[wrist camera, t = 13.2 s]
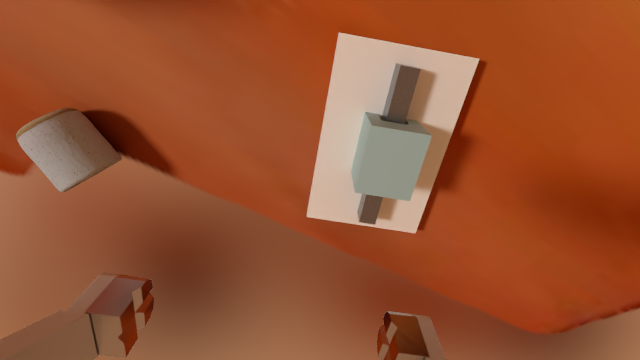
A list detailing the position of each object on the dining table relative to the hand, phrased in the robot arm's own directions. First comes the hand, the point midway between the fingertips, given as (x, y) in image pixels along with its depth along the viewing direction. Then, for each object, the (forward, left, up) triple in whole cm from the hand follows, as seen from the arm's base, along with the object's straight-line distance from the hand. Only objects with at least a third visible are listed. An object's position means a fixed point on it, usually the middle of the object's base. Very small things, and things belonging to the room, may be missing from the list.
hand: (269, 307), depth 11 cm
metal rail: (+3, +10, -30) cm, 31 cm away
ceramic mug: (+10, -29, -31) cm, 44 cm away
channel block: (+3, +10, -30) cm, 31 cm away
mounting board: (+3, +10, -31) cm, 33 cm away
